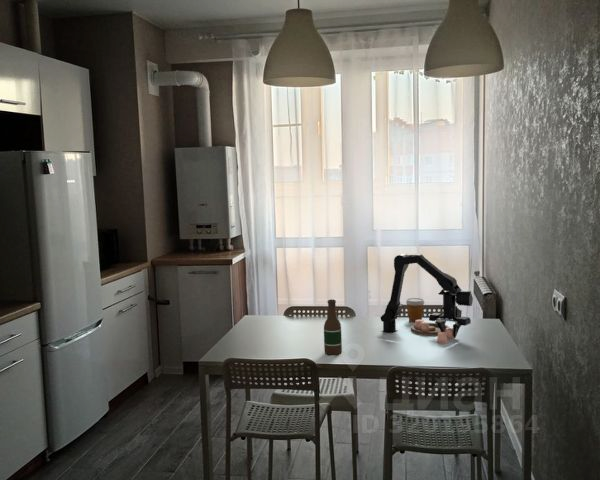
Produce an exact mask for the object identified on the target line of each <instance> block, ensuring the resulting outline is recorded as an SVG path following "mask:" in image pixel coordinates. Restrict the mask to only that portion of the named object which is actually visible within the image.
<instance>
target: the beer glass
mask: <svg viewBox="0 0 600 480" xmlns="http://www.w3.org/2000/svg"><path fill="white" fill-rule="evenodd" d="M405 303H406V308H407V315H408V322H410V323H415V320H423V311H424V304H425V301H424V299H423V298H419V297H411V298H407V299H406V301H405Z"/></svg>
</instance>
